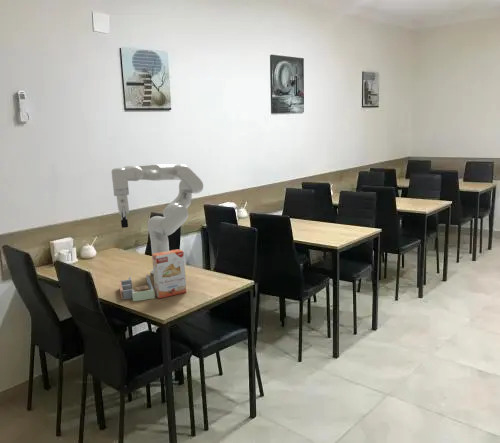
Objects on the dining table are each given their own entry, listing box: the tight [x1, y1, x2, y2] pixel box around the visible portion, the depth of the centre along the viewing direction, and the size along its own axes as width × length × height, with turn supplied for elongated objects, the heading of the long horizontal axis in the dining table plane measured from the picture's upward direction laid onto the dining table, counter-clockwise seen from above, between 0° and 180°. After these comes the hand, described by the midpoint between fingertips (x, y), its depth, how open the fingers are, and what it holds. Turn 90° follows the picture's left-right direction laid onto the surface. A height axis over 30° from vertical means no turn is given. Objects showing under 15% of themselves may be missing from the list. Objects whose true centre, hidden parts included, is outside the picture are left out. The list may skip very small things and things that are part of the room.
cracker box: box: [151, 248, 187, 299], centre depth 230 cm, size 14×6×21 cm, turn 122°
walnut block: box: [136, 284, 150, 292], centre depth 229 cm, size 5×5×5 cm
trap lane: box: [118, 274, 156, 302], centre depth 238 cm, size 15×27×4 cm, turn 17°
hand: (124, 227), depth 252 cm, fingers closed
